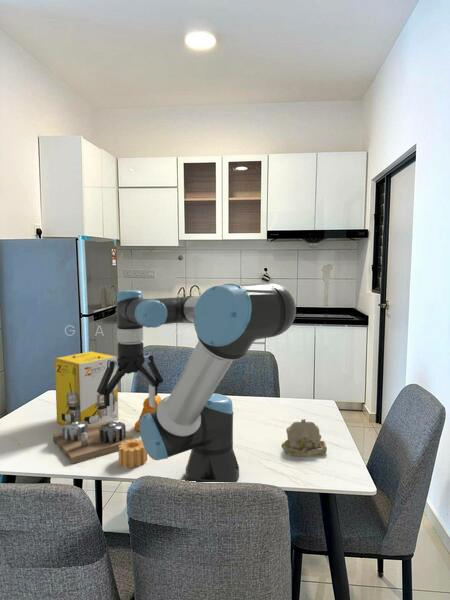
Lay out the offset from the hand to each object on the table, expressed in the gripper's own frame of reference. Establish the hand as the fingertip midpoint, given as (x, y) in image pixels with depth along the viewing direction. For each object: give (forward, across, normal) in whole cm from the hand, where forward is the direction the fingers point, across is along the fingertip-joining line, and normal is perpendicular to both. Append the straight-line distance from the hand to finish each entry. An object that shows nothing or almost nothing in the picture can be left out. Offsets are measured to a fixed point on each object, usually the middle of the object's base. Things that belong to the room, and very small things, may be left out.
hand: (131, 411), depth 121 cm
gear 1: (+14, +10, -24) cm, 30 cm away
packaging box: (+16, 0, -41) cm, 44 cm away
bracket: (+16, -16, -19) cm, 29 cm away
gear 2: (+14, 0, -15) cm, 20 cm away
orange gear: (+16, 0, 0) cm, 16 cm away
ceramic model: (+16, -47, +27) cm, 57 cm away
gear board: (+16, +5, -20) cm, 26 cm away
